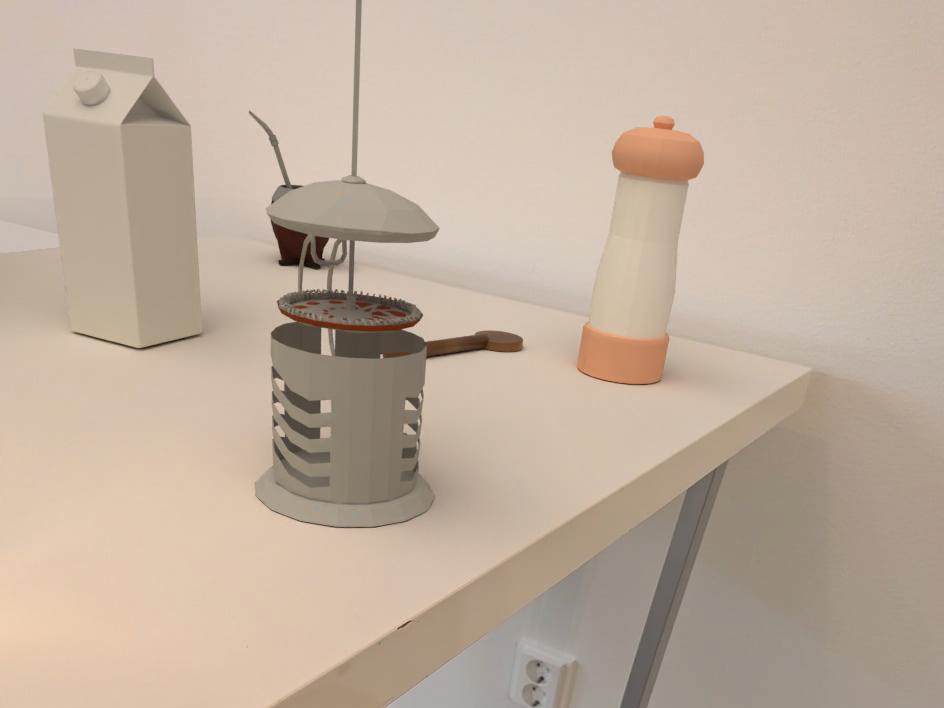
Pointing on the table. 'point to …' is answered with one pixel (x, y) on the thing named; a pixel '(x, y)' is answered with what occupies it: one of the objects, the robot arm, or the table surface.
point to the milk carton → (124, 202)
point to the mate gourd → (286, 238)
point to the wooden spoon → (469, 344)
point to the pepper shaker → (640, 255)
